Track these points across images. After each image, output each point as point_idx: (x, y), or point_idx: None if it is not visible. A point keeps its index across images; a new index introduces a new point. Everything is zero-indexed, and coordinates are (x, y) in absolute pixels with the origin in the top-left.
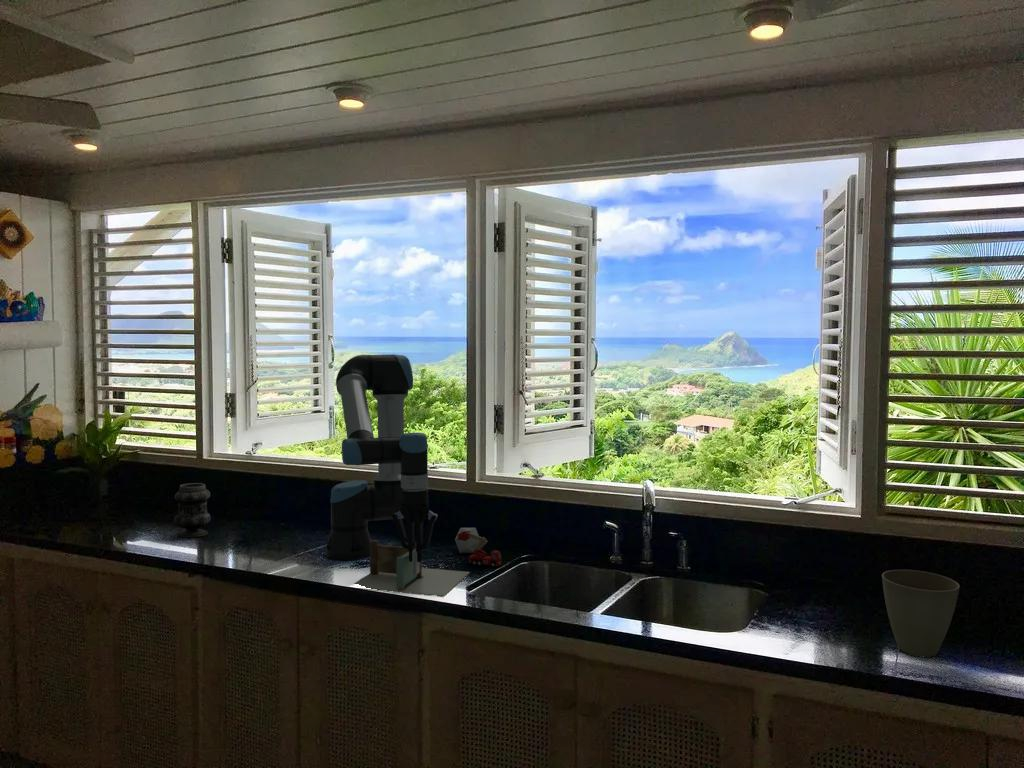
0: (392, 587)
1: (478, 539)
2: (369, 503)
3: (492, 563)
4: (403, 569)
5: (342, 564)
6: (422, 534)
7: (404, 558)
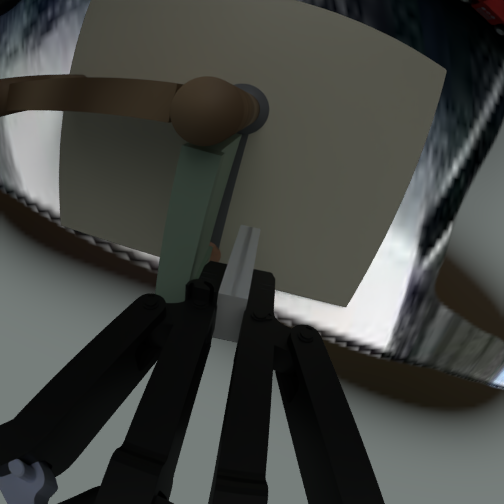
0: None
1: None
2: None
3: (501, 30)
4: None
5: (9, 35)
6: (268, 405)
7: None
